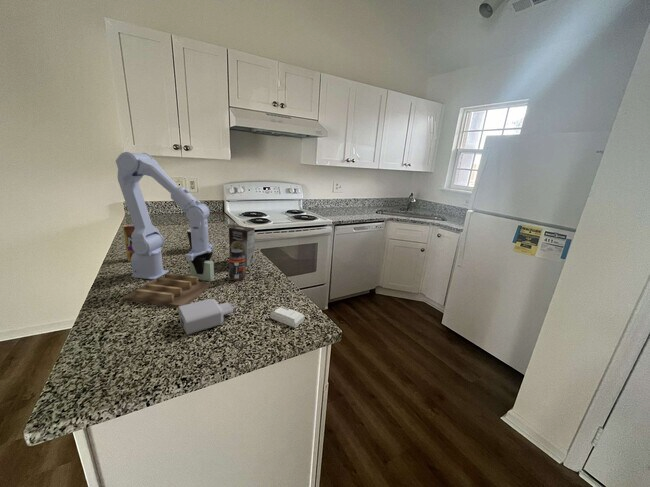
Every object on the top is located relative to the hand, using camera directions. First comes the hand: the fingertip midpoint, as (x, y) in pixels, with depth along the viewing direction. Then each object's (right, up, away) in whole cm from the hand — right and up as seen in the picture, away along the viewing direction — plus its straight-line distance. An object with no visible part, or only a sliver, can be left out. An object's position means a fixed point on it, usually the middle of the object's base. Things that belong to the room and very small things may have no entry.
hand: (202, 272), depth 102 cm
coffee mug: (-16, +8, +32) cm, 37 cm away
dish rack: (-6, -6, -11) cm, 14 cm away
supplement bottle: (+12, -3, +3) cm, 13 cm away
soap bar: (+35, -12, -21) cm, 43 cm away
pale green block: (0, -2, +1) cm, 3 cm away
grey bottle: (+14, -11, -24) cm, 30 cm away
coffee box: (+9, +2, +19) cm, 21 cm away
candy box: (-33, +4, +15) cm, 37 cm away
